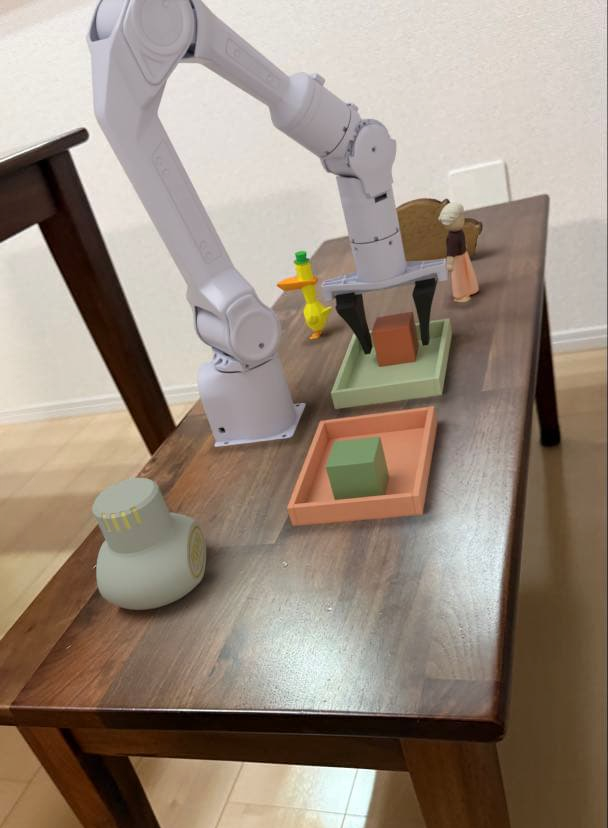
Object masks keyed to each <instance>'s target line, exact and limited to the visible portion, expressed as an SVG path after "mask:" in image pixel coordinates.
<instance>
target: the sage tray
mask: <svg viewBox="0 0 608 828" xmlns="http://www.w3.org/2000/svg"><path fill="white" fill-rule="evenodd" d="M451 325H452V324H451V319H450V318H449V317H448V318H441V319H435V320H430V324H429V333H430V341H429V345H425V346H423V345H422V341H421V334H420V325H419V322H415V326H416V331H417V337H418V342H419V348H418V353H417V357H416V361H415V362H409V363H402V364H396V365H389V366H382V367H379V365H378V361H377V356H376V352H375V347H374V342H373V338H372V330H369V332H370V336H371V340H372V346H373V347H372V350H371V353H370V354H366V355H365V353H364V351H363V349H362V346H361V344H360V342H359V341H358V339H357V337H356V335H355V334H354V333H352V337H351V338H350V341H349V344H348V347H347V350H346V352H345V355H344V357H343V359H342V362H341V365H340V368H339V370H338V373H337V376H336V378H335V381H334V384H333V386H332V389H331V392H330V396H331V400H332V404H333V407H334V410H339V409H345V408H346V409H347V408H353V407H361V406H367V405H376V404H384V403H393V402H397V401H398V402H399V401H405V400H414V399H421V398H429V397H437V396H442V395H443V392H444V386H445V378H446V372H447V366H448V360H449V354H450V348H451V342H452V335H453V331H452V326H451Z"/></svg>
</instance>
